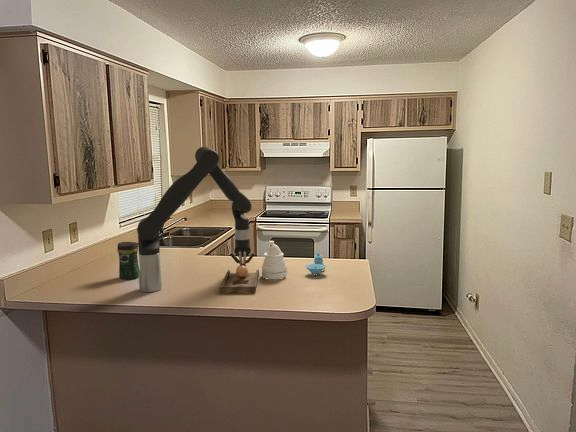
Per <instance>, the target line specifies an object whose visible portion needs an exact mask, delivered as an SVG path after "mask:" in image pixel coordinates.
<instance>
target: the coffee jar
mask: <svg viewBox="0 0 576 432" xmlns="http://www.w3.org/2000/svg"><path fill="white" fill-rule="evenodd" d="M117 253H118V261H119V266H118V267H119V269H118V273H119V274H118V277H119V278H120V279H121V280H122V279H123V280H132V279H133V280H134V279H139V273H138V271H139V270H140V264H139V257H138V253H139V245H138V243H137V242H136V241H121V242H118V243H117Z"/></svg>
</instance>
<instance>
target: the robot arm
mask: <svg viewBox="0 0 576 432" xmlns="http://www.w3.org/2000/svg"><path fill="white" fill-rule="evenodd" d="M194 158H195V162H196V163H194V165H193V167H191V169H190V170H189V171H188V172H187V173H184V174H183V175H181V176H180V177H178V178H177V179H175V181H174V182H173V183H172V184H171V185H170V186H169V188H167V190H166V191H165V193H164V194H163V195H162V196H161V199H160V200H159V202H158V204H157V205H156V207H155V208H154V209H153V211H152V212H150V214H149V215H148V216H146V217H145V218H142V219H141V220H140V221H139V222H138V224H137V227H136V232H137V236H138V237H137V240H138V241H137V242H138V243H137V245H138V265H139V271H138V273H139V277H138V285H139V287H138V288H139V292H143V293H154V292H159V291H161V290H162V286H163V285H162V284H163V283H162V270H161V268H162V266H161V251H160V250H161V249H160V248H161V247H160V246H161V245H160V231H161V229H162V228H163V226H164V225H165V224H166V222H167V221H168V219H169V218H170V217H172V216H173V215H174V214H175V213H176V211H178V209H179V208H181V206H182V205H183V204H184V203H185V202H186V201H187V200H188V198H189V197H190V195H192V193H193V192H194V191H195V190H196V189H197V187H198V186H199V185H200V183H201V182H202V181H203V180H204V179H205V178H206V176H208V175H210V177H211V179H212V180H214V182H215V183H216V185H217V186H218V187H219V189H220V191H221V192H222V193H223V195H224V196H225V197H226V198H227V200H228V201H231V202H232V203H231V212H232V215H233V218H234V250H233V251H232V252H231V253H230V254H229V255H230V257H231V258H232V259H233V261H234V262H235V263H236V264H239V266H240V265H244V266H246V267H247V264H249V263H250V262H251V260H252V259H253V258H254V257H255V255H256V253H255V252H253V251H252V250H251V235H250V222H249V218H248V217H246V216H245V214H248V213H249V212H250V211H252V202H251V201H250V199H249V198H248V197H247V196H246V195H245V194H244V193H242V192H241V191H240V190H239V188H238V186H236V184H235V182H234V181H233V180H232V178H230V177H229V175H228V174H227V173H226V172H225V171H224V170H223V169H222V168H221V166H220V164H219V162H220V156H219V154H218V152H217V151H215V149H212V148H211V147H208V146H200V147H198V149H197V150H196V151H195V155H194ZM248 256H249V257H248ZM247 257H248V258H247ZM238 258H239V259H238Z"/></svg>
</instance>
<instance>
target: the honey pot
mask: <svg viewBox="0 0 576 432" xmlns="http://www.w3.org/2000/svg"><path fill="white" fill-rule="evenodd" d="M268 244H269V245H270V247H269V248H268V249H267V252H264V254H263V256H264V259H263V263H262V266H261V277H264V278H268V279H280V278H284V277H286V276H287V277H288V265H287V263H286V259H285V258H284V252H282V251H281V249H280V247H279V246H278V245H277V244H275V241H274V240H269V241H268ZM287 277H286V278H287ZM264 278H263V279H264Z"/></svg>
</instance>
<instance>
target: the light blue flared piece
mask: <svg viewBox="0 0 576 432" xmlns="http://www.w3.org/2000/svg"><path fill="white" fill-rule="evenodd" d="M323 257H324V256H323V255H322V254H321V253H320V252H318V253H316V254H315V255H314V259H313V262H314V263H310V264H306V265H305V268H306V269H307V270H308V271H309V273H311V274H312V275H313V274H318V275H319V274H321V272H323V271H322V270H323V269H325V270H326V267H327V266H326V265H325V264H324V263H323V262H324V260H323Z"/></svg>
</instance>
